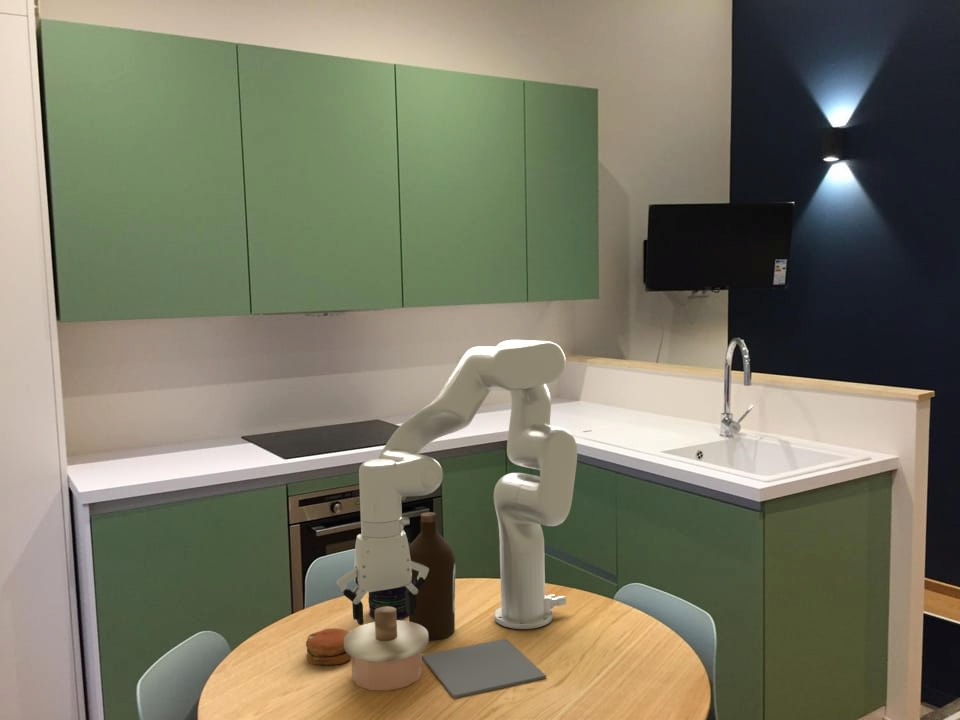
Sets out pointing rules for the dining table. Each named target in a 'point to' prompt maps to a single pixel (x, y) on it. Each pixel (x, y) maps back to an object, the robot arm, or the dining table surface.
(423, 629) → the lid
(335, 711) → the dining table surface
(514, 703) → the dining table surface
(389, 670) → the bowl
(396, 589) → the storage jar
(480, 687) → the mat
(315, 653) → the burger
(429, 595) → the olive oil
